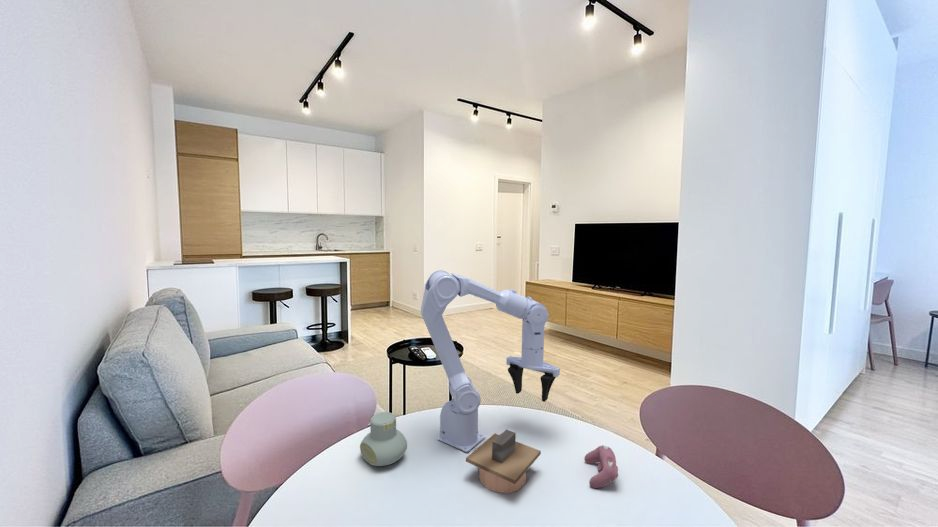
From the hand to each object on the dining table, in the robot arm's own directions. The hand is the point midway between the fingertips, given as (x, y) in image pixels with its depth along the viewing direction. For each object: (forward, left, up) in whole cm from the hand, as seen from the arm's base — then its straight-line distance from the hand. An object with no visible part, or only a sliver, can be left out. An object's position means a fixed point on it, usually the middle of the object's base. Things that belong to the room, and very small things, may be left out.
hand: (531, 396), depth 98 cm
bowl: (+3, -20, -10) cm, 23 cm away
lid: (+3, -20, -6) cm, 21 cm away
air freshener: (-23, -31, -10) cm, 40 cm away
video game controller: (+20, -7, -10) cm, 24 cm away
